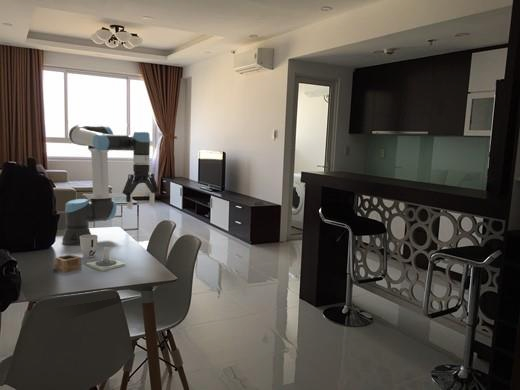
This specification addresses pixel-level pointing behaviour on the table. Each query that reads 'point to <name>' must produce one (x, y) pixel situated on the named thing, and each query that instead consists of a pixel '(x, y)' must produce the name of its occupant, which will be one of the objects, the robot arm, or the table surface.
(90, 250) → the cup
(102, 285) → the table surface
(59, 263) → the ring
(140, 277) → the table surface
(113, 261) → the peg stand
